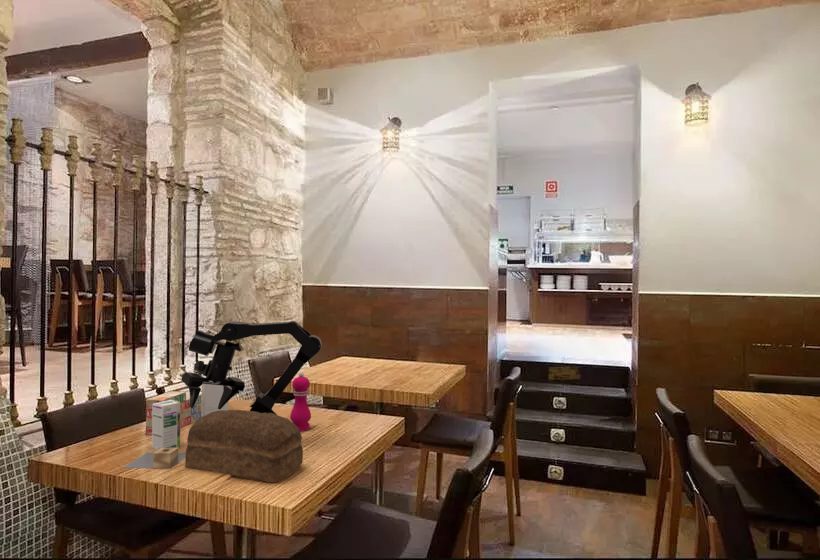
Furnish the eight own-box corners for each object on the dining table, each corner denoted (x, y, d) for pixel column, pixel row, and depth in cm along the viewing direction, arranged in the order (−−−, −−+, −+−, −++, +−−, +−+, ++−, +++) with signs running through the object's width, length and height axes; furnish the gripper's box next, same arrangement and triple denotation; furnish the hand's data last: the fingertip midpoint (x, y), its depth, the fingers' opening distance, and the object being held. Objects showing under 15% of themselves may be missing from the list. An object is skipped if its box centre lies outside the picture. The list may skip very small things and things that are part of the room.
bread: (278, 486, 119) (279, 423, 119) (177, 470, 129) (178, 411, 129) (308, 466, 133) (309, 409, 133) (215, 452, 143) (216, 400, 143)
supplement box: (228, 415, 184) (229, 376, 185) (204, 417, 180) (204, 378, 180) (225, 409, 192) (225, 372, 192) (201, 412, 188) (201, 374, 188)
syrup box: (161, 454, 140) (162, 405, 141) (151, 450, 144) (152, 402, 144) (180, 448, 145) (181, 401, 146) (169, 445, 148) (170, 398, 149)
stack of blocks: (186, 418, 179) (187, 385, 180) (201, 419, 178) (202, 386, 178) (145, 435, 158) (145, 398, 159) (161, 436, 157) (162, 399, 157)
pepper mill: (314, 429, 166) (314, 372, 166) (294, 433, 162) (295, 374, 162) (306, 424, 172) (307, 369, 172) (286, 428, 168) (287, 371, 168)
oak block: (177, 462, 132) (178, 447, 132) (169, 468, 128) (170, 453, 128) (161, 462, 132) (162, 447, 132) (153, 468, 128) (153, 452, 128)
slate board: (190, 455, 140) (191, 452, 140) (170, 471, 128) (170, 468, 128) (146, 455, 139) (147, 452, 140) (122, 470, 127) (122, 467, 127)
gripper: (236, 356, 161) (221, 400, 160) (182, 348, 147) (165, 397, 146) (252, 366, 153) (236, 413, 152) (198, 359, 140) (180, 410, 139)
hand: (205, 408), depth 148 cm, fingers open, 9 cm apart
